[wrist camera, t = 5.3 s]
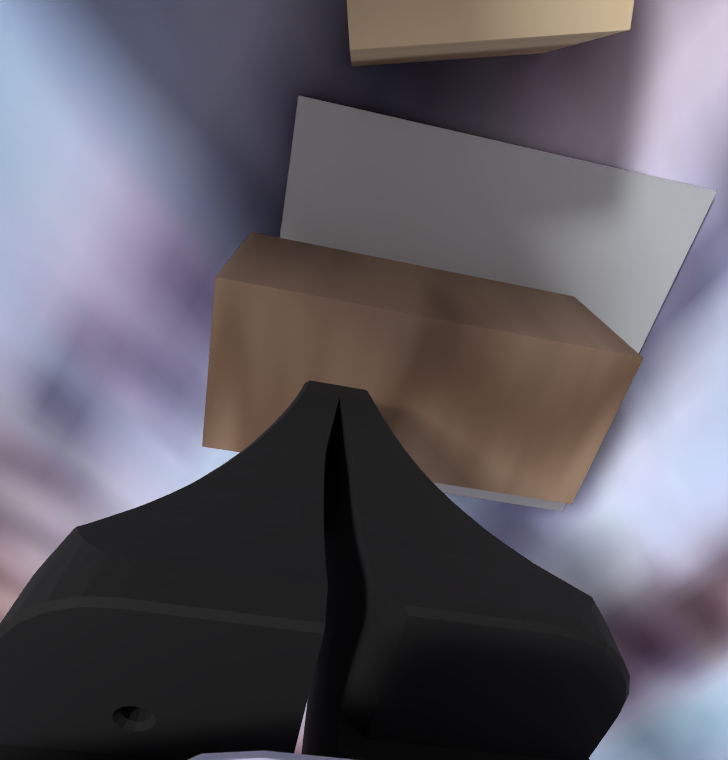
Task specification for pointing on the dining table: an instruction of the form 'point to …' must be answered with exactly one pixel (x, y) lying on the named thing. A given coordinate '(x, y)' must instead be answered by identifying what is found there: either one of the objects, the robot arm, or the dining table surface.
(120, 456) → the dining table surface
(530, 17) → the oak cube
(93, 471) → the dining table surface
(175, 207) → the dining table surface
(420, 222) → the mat
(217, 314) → the walnut pillar
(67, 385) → the dining table surface
